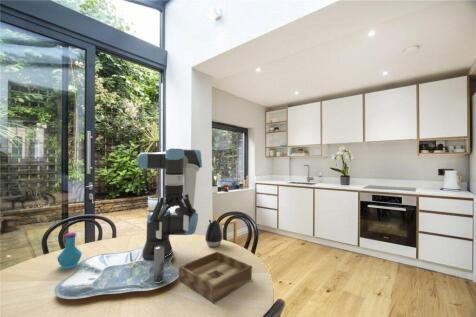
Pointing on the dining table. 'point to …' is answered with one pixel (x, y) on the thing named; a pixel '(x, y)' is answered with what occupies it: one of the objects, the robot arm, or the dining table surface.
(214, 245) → the pump dispenser
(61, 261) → the perfume bottle
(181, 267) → the box
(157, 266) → the peg
